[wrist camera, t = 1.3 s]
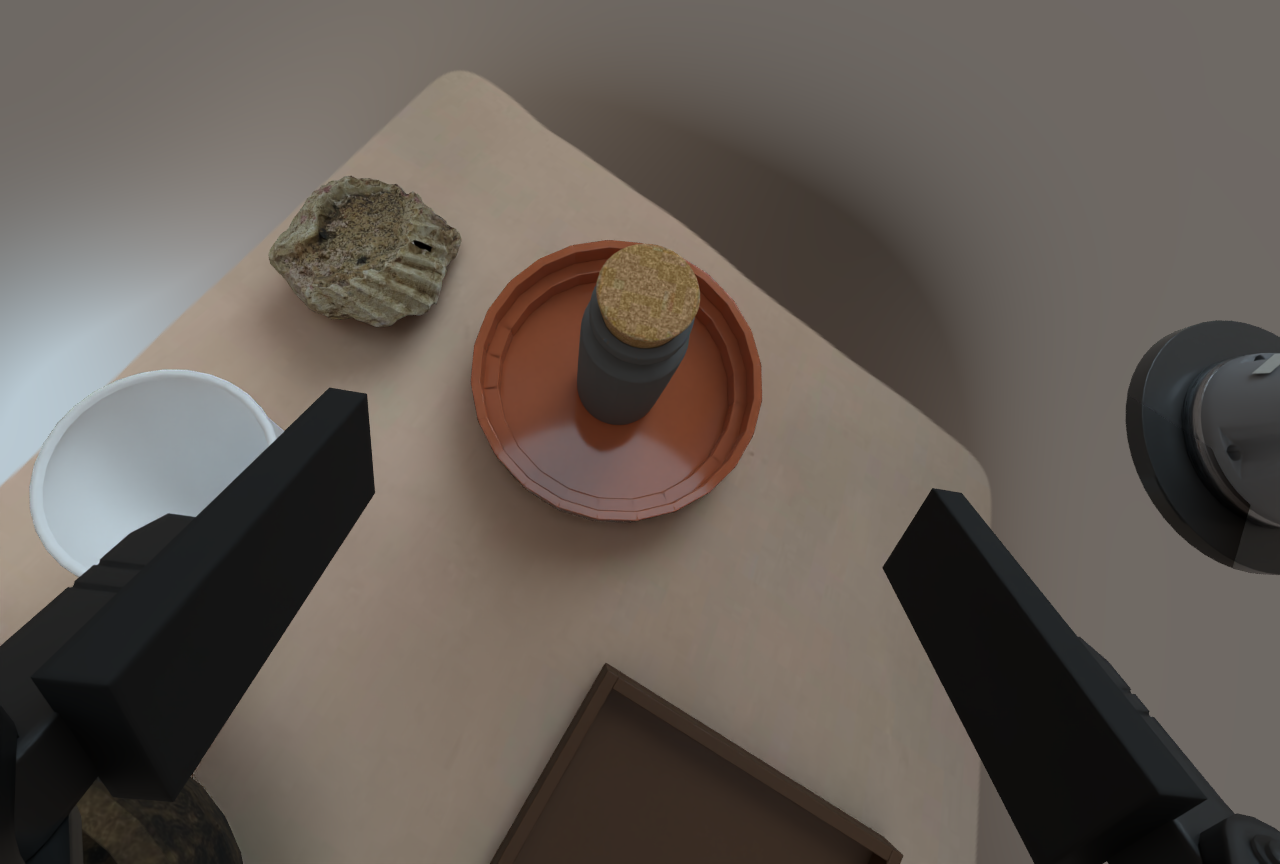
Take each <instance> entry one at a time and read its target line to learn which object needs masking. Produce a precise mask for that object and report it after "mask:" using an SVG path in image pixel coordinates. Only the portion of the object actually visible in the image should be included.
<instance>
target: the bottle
mask: <svg viewBox="0 0 1280 864" xmlns="http://www.w3.org/2000/svg"><path fill="white" fill-rule="evenodd" d="M699 304H700V289H699V284H698V281H697V278H696V276H695V274H694V272H693V270H692V269H691V267H690V266H689V265H688V263H687V262H686V261H685V260H684V259H683V258H682V257H680V256H679V255H678V254H676V253H675V252H673V251H671V250H669V249H667V248H664V247H662V246H658V245H653V244H637V245H632V246H628V247H626V248H623V249H621V250H619V251H618V252H616V253H615V254H613V255H612V256H611V257H610V258H609V259H608V260H607V261H606V262H605V264H604V265H603V267H602V268H601V270H600V272H599V275H598V279H597V284H596V286H595V287H594V290H593V292H592V296H591V300H590V302H589V303H588V305H587V307H586V309H585V311H584V314H583V318H582V322H581V330H580V342H579V355H578V373H577V389H578V394H579V397H580V400H581V402H582V404H583V406H584V407H585V409H586V410H587V411H588V412H589V413H590V414H591V415H592V416H593V417H595V418H597V419H598V420H600V421H602V422H604V423H608V424H612V425H625V424H629V423H632V422H635V421H637V420H639V419H641V418H642V417H644V416H645V415H646V414H647V413H648V412H649V411H650V409H651V408H652V407H653V406H654V404H655V403H656V401H657V400H658V398H659V397H660V395H661V393H662V392H663V390H664V389H665V387H666V386H667V384H668V383H669V381H670V380H671V378H672V376H673V375H674V373H675V371H676V370H677V368H678V367H679V365H680V363H681V361H682V360H683V358H684V356H685V353H686V351H687V348H688V344H689V337H690V333H691V330H692V327H693V324H694V319H695V316H696V314H697V311H698V309H699Z"/></svg>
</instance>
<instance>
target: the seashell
mask: <svg viewBox="0 0 1280 864" xmlns="http://www.w3.org/2000/svg"><path fill="white" fill-rule="evenodd" d="M461 240H462V239H461V237H460V234H459V233H458V231H457V230H456V229H454V228H452V227H450V226H448V225H447V224H446V221H445V220H444V219H443V218H441V217H440V216H438V215H436V214H435V213H434V211H433V210H432V209H431V208H429V207H427V206H426V205H425V204H424V203H423V202H422V200H421V197H420V196H419V195H418V194H415V193H414V192H413V191H412V192H411V193H410V194H406V193H405V192H404V191H403V189H402V188H401V187H400V186H398V185H397V184H394V185H393V184H386V183H383V182H381V181H379V180H373V179H370V178H368V179H356V178H354V177H352V176H347V177H344V178H342V179H340V180H338V181H331V182H329V183H328V184H326V185H323V186H321V187H320V189H319V190H316V191H314V192H313V193H312V195H311V197H309V198H307V200H306V202H305V204H304V206H303V207H302V208H301V209H300V211H299V213H298V214H297V215H296V216H295V218H294V219H293V221H292V222H291V224H290V226H289V228H288V229H287V231H285V232H283V233H282V234H281V235H280V236H279V238H278V239H277V241H276V242H275V243H274V244H273V246H272V247H271V249H270V252H269V260H270V264H271V265H272V266H273V267H274V268H275V269H276V270H277V271H278V273H279V274H281V275H282V276H283V278H285V280H286V281H287V282H288V284H289V285H290V287H291V288H292V290H293V291H294V292H295V294H296V295H297V296H298V297H299V298H300V299H301V300H302V301H303V302H304V303H305V304H306V305H307V307H308V308H309V309H311V310H312V311H314V312H317V313H320V314H323V315H326V316H327V317H329V318H330V319H340V320H341V319H346V318H350V317H353V318H355V319H356V320H359V321H362V322H365V323H367V324H370V325H373V326H375V327H384V326H391V325H392V324H394V323H395V322H396V320H398V319H401V318H403V317H405V316H407V315H418V316H419V315H422V314H424V313H426V312H428V311H429V309H430V307H431V306H432V305H433V304H437V300H438V297H439V294H440V290H441V287H442V280H443V279H444V276H445V274H446V272H447V269H446V267H447V265H448V264H449V263H450V261H451V260H453V259H454V258H455V257H456V255H457V252H458V248H459V246H460V243H461Z"/></svg>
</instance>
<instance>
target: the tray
mask: <svg viewBox="0 0 1280 864" xmlns="http://www.w3.org/2000/svg"><path fill="white" fill-rule="evenodd" d="M902 858H903V855H902V854H901V853H900V852H899V851H898V850H897V849H896V848H895V847H894V846H893V845H892V844H891V843H890V842H888V841H887V840H886V839H885V838H884V837H883V836H881V835H880V834H878V833H876V832H875V831H873V830H872V829H870V828H868V827H867V826H865V825H864V824H862V823H860V822H859V821H857V820H856V819H854V818H852V817H851V816H849V815H848V814H846V813H844V812H843V811H841V810H840V809H838V808H836V807H835V806H833V805H832V804H830V803H829V802H827V801H825V800H824V799H822V798H821V797H819V796H817V795H816V794H814V793H813V792H811V791H809V790H808V789H806V788H805V787H803V786H801V785H800V784H798V783H797V782H795V781H793V780H792V779H790V778H789V777H787V776H785V775H784V774H782V773H781V772H779V771H778V770H776V769H774V768H773V767H771V766H770V765H768V764H766V763H765V762H763V761H762V760H760V759H758V758H757V757H755V756H754V755H752V754H750V753H749V752H747V751H746V750H744V749H742V748H741V747H739V746H738V745H736V744H734V743H733V742H731V741H730V740H728V739H727V738H725V737H723V736H722V735H720V734H719V733H717V732H715V731H714V730H712V729H711V728H709V727H707V726H706V725H704V724H703V723H701V722H699V721H698V720H696V719H695V718H693V717H691V716H690V715H688V714H687V713H685V712H683V711H682V710H680V709H679V708H677V707H676V706H674V705H672V704H671V703H669V702H668V701H666V700H664V699H663V698H661V697H660V696H658V695H656V694H655V693H653V692H652V691H650V690H648V689H647V688H645V687H644V686H642V685H640V684H639V683H637V682H636V681H634V680H633V679H631V678H629V677H628V676H626V675H625V674H623V673H621V672H620V671H618V670H617V669H615V668H613V667H612V666H610V665H609V664H607V663H605V665H604V666H603V668H602V670H601V672H600V673H599V675H598V677H597V678H596V680H595V682H594V684H593V685H592V687H591V689H590V691H589V692H588V694H587V696H586V698H585V699H584V701H583V703H582V705H581V706H580V708H579V710H578V711H577V713H576V715H575V717H574V718H573V720H572V722H571V724H570V725H569V727H568V729H567V731H566V732H565V734H564V736H563V738H562V739H561V741H560V743H559V744H558V746H557V748H556V750H555V751H554V753H553V755H552V757H551V758H550V760H549V762H548V764H547V765H546V767H545V769H544V771H543V772H542V774H541V776H540V778H539V779H538V781H537V783H536V784H535V786H534V788H533V790H532V791H531V793H530V795H529V797H528V798H527V800H526V802H525V804H524V805H523V807H522V809H521V811H520V812H519V814H518V816H517V817H516V819H515V821H514V823H513V824H512V826H511V828H510V830H509V831H508V833H507V835H506V837H505V838H504V840H503V842H502V844H501V845H500V847H499V849H498V850H497V852H496V854H495V856H494V857H493V859H492V861H491V863H490V864H900V863H901V860H902Z"/></svg>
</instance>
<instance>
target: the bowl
mask: <svg viewBox="0 0 1280 864" xmlns="http://www.w3.org/2000/svg"><path fill="white" fill-rule="evenodd" d="M77 807H78V809H79V812H80V814H81V821H82V844H83V864H243V861H242V856H241V852H240V850H239V847H238V845H237V843H236V840H235V838H234V836H233V834H232V831H231V829H230V827H229V825H228V822H227V820H226V818H225V816H224V815H223V813H222V812H221V811H220V809H219V808H218V807H217V805H216V804H215V803H214V801H213V800H212V799H211V797H210V796H209V795H208V793H207V792H206V791H205V789H204V788H203V787H202V786H201V785H200V784H199V783H197V782H196V781H195V780H194V779H193V778H191V777H190V778H189V779H188V781H187V783H186V784H185V786H184V787H183V789H182V790H181V792H180V793H179V795H178V796H177V798H176V799H175V801H174V802H165V801H153V800H141V799H129V798H117V797H112V796H111V794H110V793H109V791H108V790H107V788H106V787H105V786H104V784H103V783H102V781H101V780H100V778H99V777H97V779H96V780H95V781H94V782H93V784H92V785H91V786H90V787H89V789H88V790H87V791H86V793H85V794H84V795H83V796H82V798H81V799H80V800H79V802H78V803H77Z"/></svg>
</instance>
